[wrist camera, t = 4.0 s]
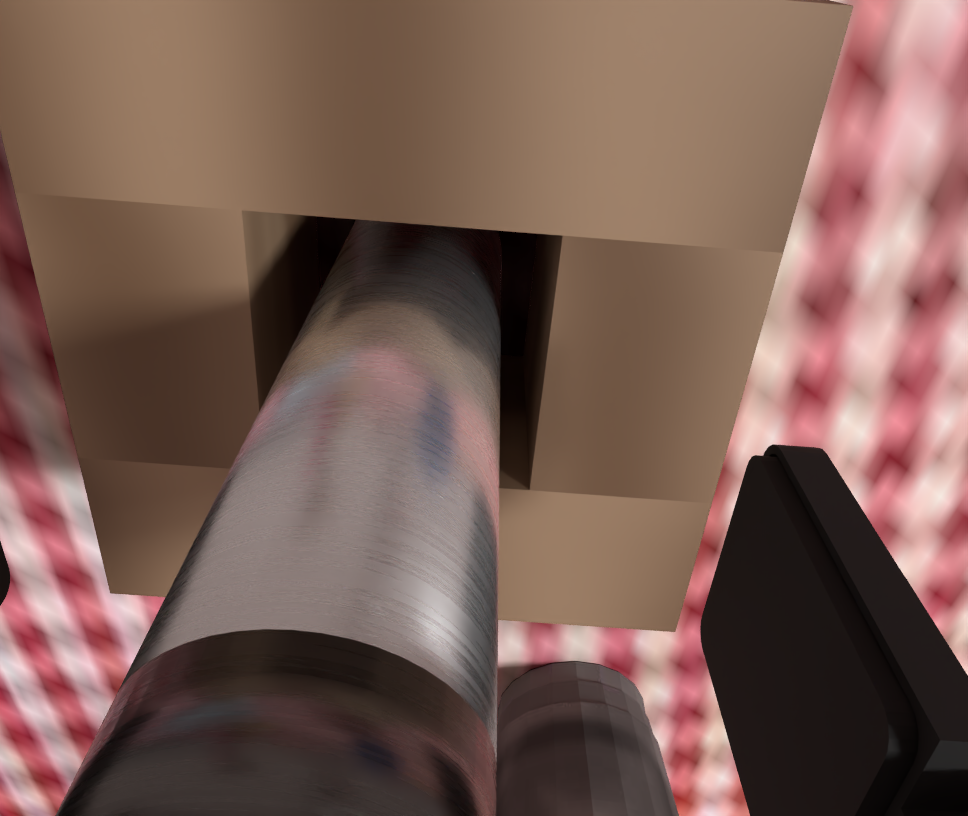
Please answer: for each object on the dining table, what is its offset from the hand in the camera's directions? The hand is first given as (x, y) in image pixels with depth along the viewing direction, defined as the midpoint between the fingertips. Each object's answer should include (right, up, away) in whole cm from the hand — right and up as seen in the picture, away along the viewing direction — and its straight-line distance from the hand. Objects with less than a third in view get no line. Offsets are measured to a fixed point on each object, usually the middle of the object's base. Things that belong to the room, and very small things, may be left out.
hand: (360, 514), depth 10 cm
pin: (0, +5, +7) cm, 9 cm away
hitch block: (0, +5, +7) cm, 9 cm away
